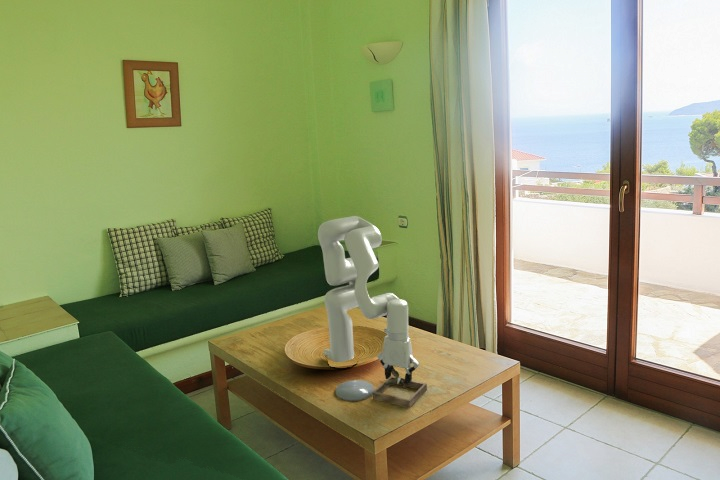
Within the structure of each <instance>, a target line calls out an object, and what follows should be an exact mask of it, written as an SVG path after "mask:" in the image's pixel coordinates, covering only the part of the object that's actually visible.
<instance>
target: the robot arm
mask: <svg viewBox="0 0 720 480" xmlns="http://www.w3.org/2000/svg"><path fill="white" fill-rule="evenodd" d="M317 239H318V242H319V245H320V247H321V250H322V258H323V265H324V266H323V267H324V275H325V279H326V281H327V283H328V284H329V286H339V285H343V286H339V287H335V288H333V289H331V290H329V291H327V292H326V294H325V295H324V299H323V301H324V305H325V309H326V313H327V320H328V323H327V324H328V336H329V337H328V338H329V348H324V349H323V354H322V355H323V356H325V357H328V358H329V359H331V360H332V361H335V362H344V361H348V360H351V359H353V358H354V355H355V353H354V352H355V351H354V350H355V349H354V348H355V347H354V334H353V333H354V332H353V331H354V330H353V329H354V328H353V320H352V318H351V316H350V315H349V314H348V312H347V311H349V310H352V309H355V308H359V309H360V312H361V313H362V315H363V316H364V317H365V318H366V319H367V320H375V319H378V318H382V317H384V316H386V328H384V329H383V332H384V333H386V335H385V336H384V339H383V346H382V352H380V353H379V354H378V355H376V356H377V359H378V360H379V362H380V364H381V365H382V366H383V367H382V368H383V369H384V376H385V380H387V379H388V378H389V377H390V376H392V373H391V366H390V365H392V366H393V367H396V368H400V369H404V370H405V372H406V373H405V376H404V379H405V382H406V384H408V383H409V382H410V381H411V380H412V381H413V377H412V376H413V375H412V374H413V372H414V371H415V370H417V368H418V367H419V366H420V365H421V364H420V363H419V362H418V360H417V359H416V358H415V357H414V355H413V347H412V341H411V337H409V304H408V302H407V301H406V300H405V299H400V298H399V297H398V296H397V295H395V294H394V293H393V292H386V293H383V294H378V295H375V296H372V297H370V295H369V292H368V288H367V282H368V279H369V277H370V276H371V275H372V274H374V273H375V272H376V271H377V270H378V269H379V266H380V265H379V262H378V259H377V256H376V254H375V252H374V250H373V249H375V248H378V247H380V246H381V244H382V243H383V242H382V241H383V236H382V233H381V232H380V230H379V229H378V227H376V226H375V225H373V223H371V222H369V221H368V220H365V219H364V218H362V217H361V216H358V215H351V216H347V217H341V218H334V219H329V220H328V221H327V220H326V221H325V222H323V223H321V224H320V225H319V227H318V230H317ZM341 241H344V244H345V246H346V249H347V252H348V254H349V257H347V258H346V255H345V254H346V253H345V248H344V247H343V245H342V244H341ZM344 284H347V285H344ZM328 358H327V359H328Z"/></svg>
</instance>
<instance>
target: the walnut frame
mask: <svg viewBox="0 0 720 480" xmlns="http://www.w3.org/2000/svg"><path fill="white" fill-rule="evenodd" d="M395 378H396V377H394V376H393V375H391V376H390V377H389V378H388V379H385V381H383V382H382V383H381V384H380V385H379V386H378V387H377V388H375V389H374V392H373V394H372V400H376V401H380V402H385V403H388V404H392V405H398V406H400V407H405V408H409V409H411V408H412V406H413V405H415V403H416V402H417V401H418V400H419V399H420V398H421V397H422V396H423V395H424V394H425V392H427V390H428V389H427V388H428V386H427V385H428V384H427V383H425V382H420V381H416V380H413V379H412V380H411V381H410V382H409V383H408V384H406V385H405V388H406V387H407V388H411V389H416V390H417V391H415V393H413V394H412V395H411V397H410V398H408V399H407V398H403V397H399V396H398V397H397V396H395V395H391V394H386V393H384V392H385V391H386V390H387V389H388V388H389V387H390V386H391V385H386V386H384V383H385V382H387V381H388V380H390V379H395ZM401 382H402V383H404V380H401ZM394 385H397V386H401V387H402V386H403V384H400V383H398V384H397V382H396V383H395V384H394ZM403 387H404V386H403Z"/></svg>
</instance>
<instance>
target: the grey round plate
mask: <svg viewBox="0 0 720 480" xmlns="http://www.w3.org/2000/svg"><path fill="white" fill-rule="evenodd" d="M374 391H375V387H374V385H373V384H372V383H371V382H368V381H366V380H361V379H352V380H346V381H344V382H341V383H339V384H338V385H337V386H336V388H335V395H336V396H337V397H338V398H339V399H341V400H344V401H348V402H349V401H350V402H358V401H363V400H366V399H369V398H370V397H371V396H373V392H374Z"/></svg>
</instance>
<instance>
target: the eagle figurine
mask: <svg viewBox="0 0 720 480" xmlns="http://www.w3.org/2000/svg"><path fill="white" fill-rule="evenodd" d="M390 366H391V376H393V377H396V378H395V379H390V380H388V381H387V382H385V381H384V382H385V383H384V382H383V383H384V386H386V385H390V386H394V385H397V384H398V383H400V384H403V388H404V389H406V386H405V385H406V382H405V378H403V377H402V375H400V373H399V371H397V370H396V369H395V366H392V365H390ZM401 380H404V383H402V382H401ZM396 382H397V384H395V383H396Z"/></svg>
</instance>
